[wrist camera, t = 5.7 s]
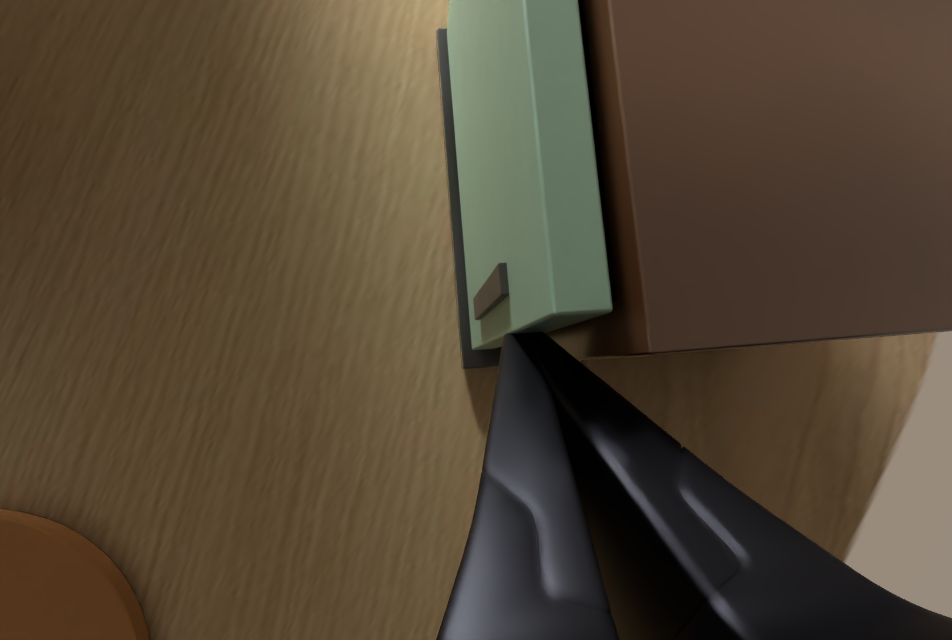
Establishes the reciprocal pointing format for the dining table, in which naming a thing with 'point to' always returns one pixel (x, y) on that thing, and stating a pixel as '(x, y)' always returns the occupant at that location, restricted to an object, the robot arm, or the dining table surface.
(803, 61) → the cabinet
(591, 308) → the sliding door
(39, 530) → the coaster
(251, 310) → the dining table surface
